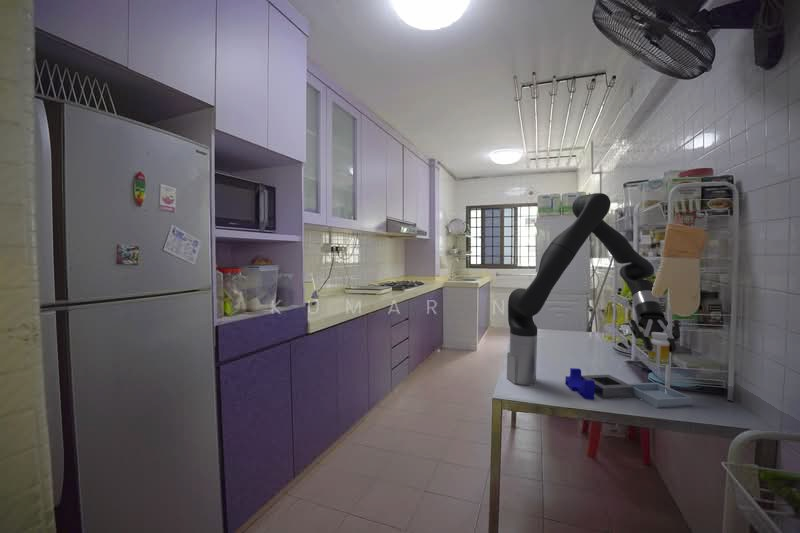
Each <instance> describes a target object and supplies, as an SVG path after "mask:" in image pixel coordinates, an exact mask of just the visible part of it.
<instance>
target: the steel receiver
mask: <svg viewBox="0 0 800 533" xmlns="http://www.w3.org/2000/svg"><path fill="white" fill-rule="evenodd" d="M581 377H582V381H583V379H588V380H593V381H595V387H594V396H597V397H598V398H600V399H602V400H612V399H614V400H616V399H633V398H632V397H635V396H634V387H633V386H631V385H629V384H630V383H627V382H625V381H623V380H621V379H618V378H616V377H614V376H613V375H610V374H592V375H591V374H589V375H587V374H586V375H581Z"/></svg>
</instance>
